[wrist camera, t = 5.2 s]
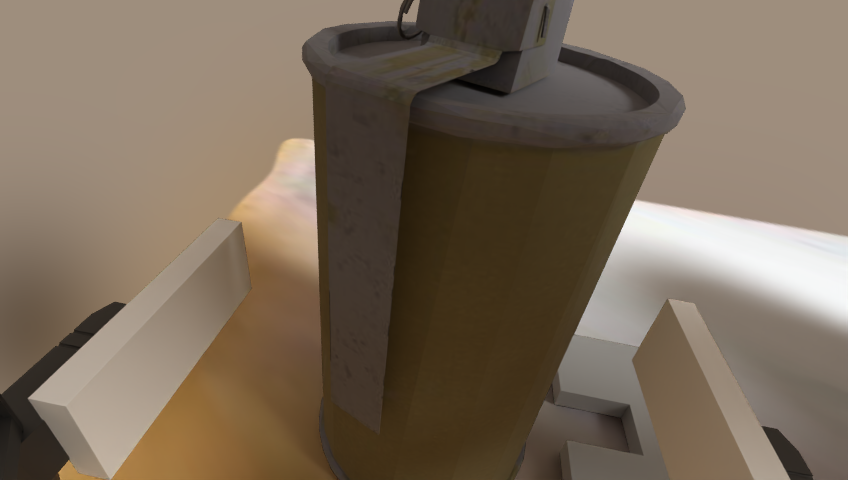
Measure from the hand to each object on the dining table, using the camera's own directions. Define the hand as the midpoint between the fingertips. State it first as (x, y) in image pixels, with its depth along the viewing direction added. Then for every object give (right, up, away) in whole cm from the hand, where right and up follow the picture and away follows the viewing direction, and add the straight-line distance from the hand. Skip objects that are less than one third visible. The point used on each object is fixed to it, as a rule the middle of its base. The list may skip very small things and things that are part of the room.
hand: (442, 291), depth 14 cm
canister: (-1, -8, +8) cm, 11 cm away
